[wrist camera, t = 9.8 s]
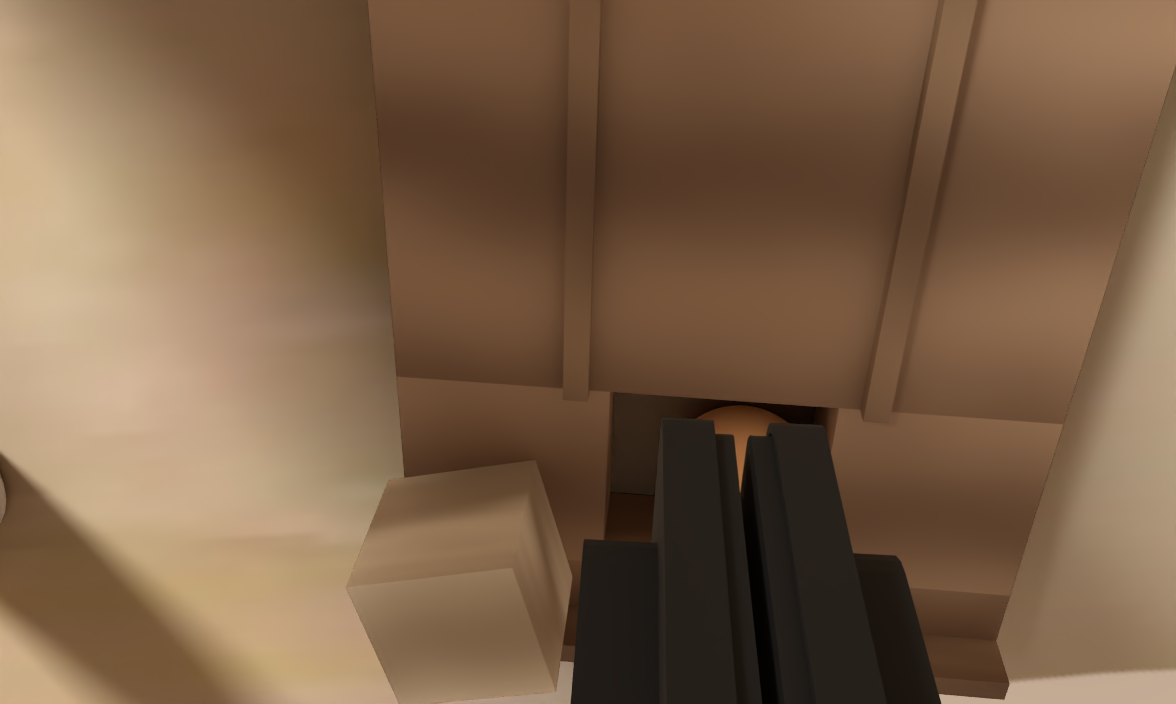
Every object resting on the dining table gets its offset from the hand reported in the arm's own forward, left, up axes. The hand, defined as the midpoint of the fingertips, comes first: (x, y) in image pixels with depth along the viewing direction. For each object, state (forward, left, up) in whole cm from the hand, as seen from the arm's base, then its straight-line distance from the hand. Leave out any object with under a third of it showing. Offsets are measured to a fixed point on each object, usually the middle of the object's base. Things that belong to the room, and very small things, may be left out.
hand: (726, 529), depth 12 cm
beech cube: (+12, -5, -13) cm, 18 cm away
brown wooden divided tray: (+5, +1, -16) cm, 17 cm away
